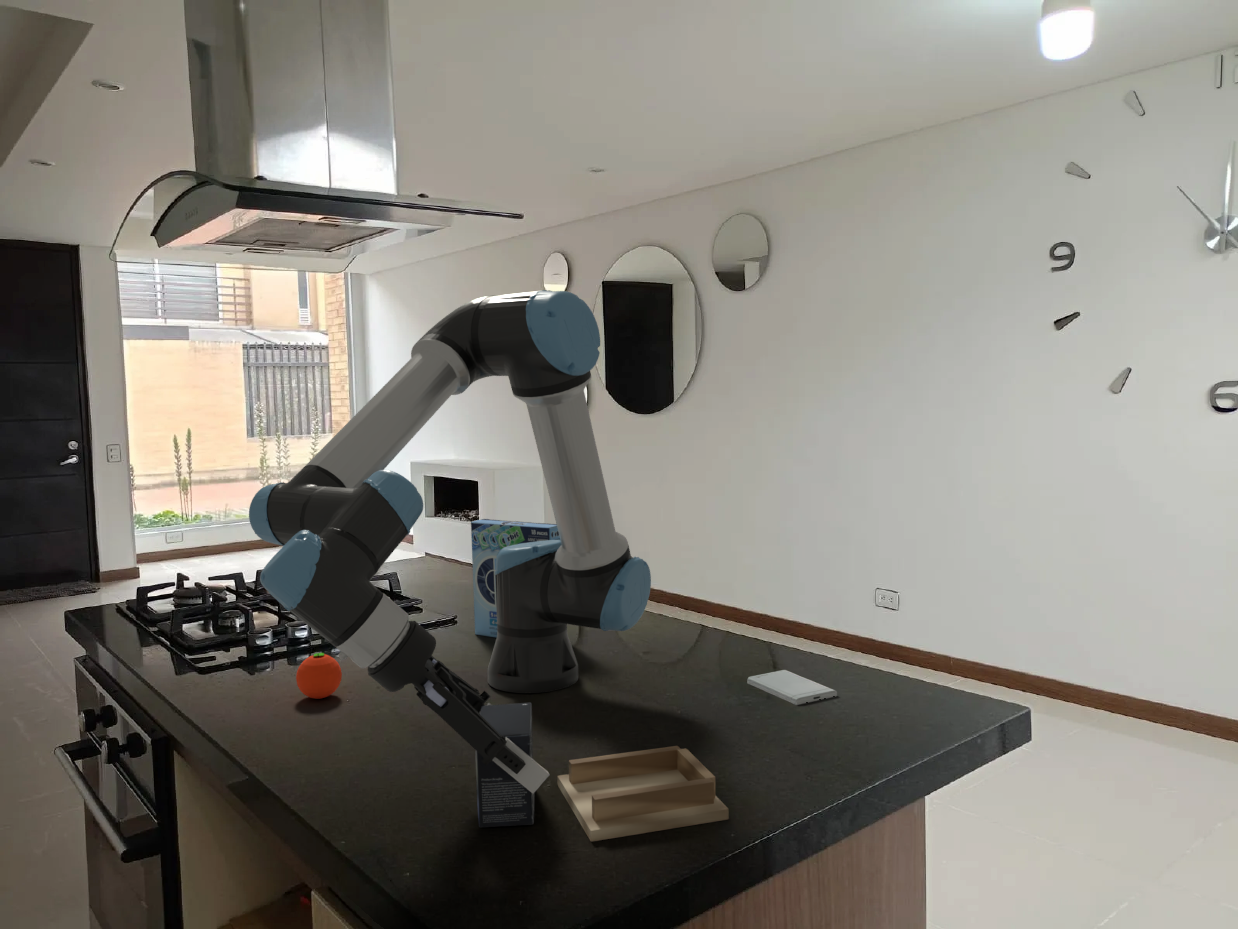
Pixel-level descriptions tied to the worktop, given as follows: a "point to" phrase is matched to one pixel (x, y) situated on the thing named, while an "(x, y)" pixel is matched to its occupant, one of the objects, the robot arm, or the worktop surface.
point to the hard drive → (791, 687)
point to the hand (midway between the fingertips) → (529, 762)
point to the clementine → (318, 676)
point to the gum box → (484, 552)
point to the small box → (495, 787)
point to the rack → (640, 792)
